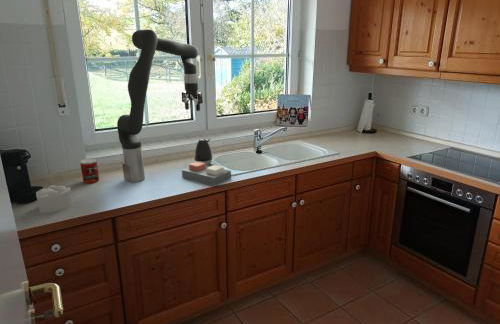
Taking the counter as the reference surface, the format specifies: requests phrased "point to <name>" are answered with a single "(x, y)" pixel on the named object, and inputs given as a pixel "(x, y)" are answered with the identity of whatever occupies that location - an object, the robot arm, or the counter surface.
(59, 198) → the lumpy-topped squat cylinder
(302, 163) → the counter surface
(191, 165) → the red key
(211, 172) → the white key
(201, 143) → the pump dispenser
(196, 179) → the key console
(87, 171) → the canned food
